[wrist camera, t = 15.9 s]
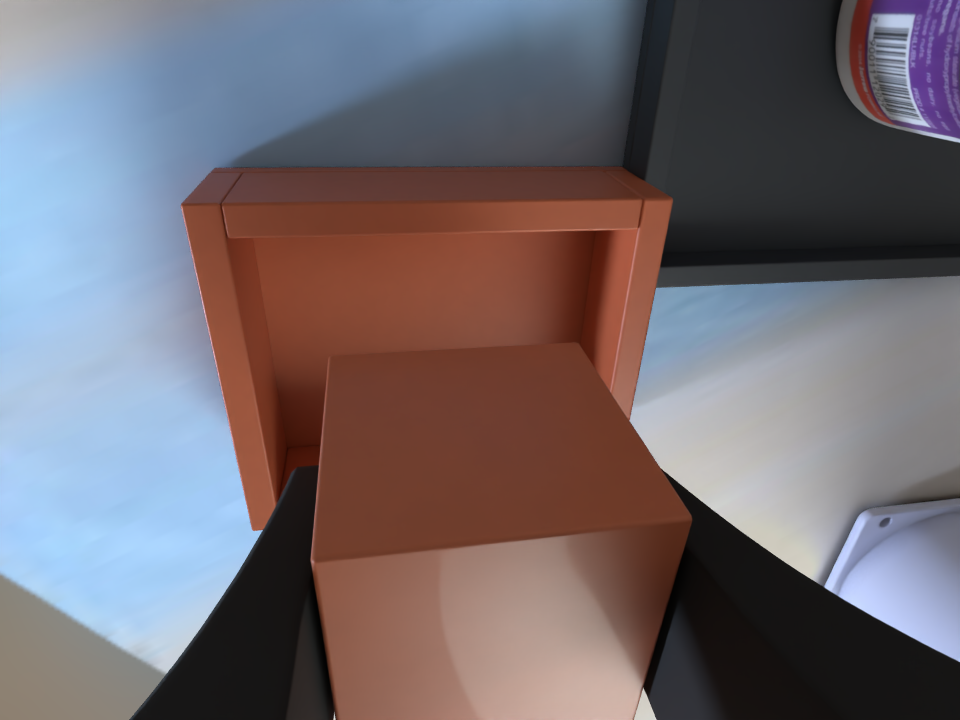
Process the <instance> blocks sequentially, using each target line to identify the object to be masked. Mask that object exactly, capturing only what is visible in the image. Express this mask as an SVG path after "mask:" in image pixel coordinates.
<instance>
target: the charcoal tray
mask: <svg viewBox="0 0 960 720" xmlns="http://www.w3.org/2000/svg"><path fill="white" fill-rule="evenodd" d="M842 1H843V0H648V4H647V10H646V17H645V23H644V30H643V37H642V43H641V50H640V57H639V63H638V70H637V76H636V83H635V90H634V96H633V103H632V109H631V116H630V123H629V129H628V136H627V143H626V149H625V156H624V162H623V168H625V169H626V170H628V172H630V173H632V174H634V175H635V176H637V177H639V178H640V179H642V180H644V181H645V182H647V183H649V184H650V185H652V186H654V187H655V188H657V189H659V190H660V191H662V192H664V193H665V194H667V195H669V196H670V197H672V199H673V203H672V208H671V213H670V218H669V224H668V229H667V234H666V239H665V244H664V249H663V254H662V259H661V264H660V269H659V274H658V279H657V284H656V288H661V287H687V286H712V285H738V284H763V283H789V282H814V281H840V280H865V279H890V278H916V277H941V276H960V143H959V142H954V141H950V140H945V139H940V138H936V137H931V136H926V135H922V134H917V133H913V132H909V131H905V130H901V129H897V128H893V127H889V126H886V125H883V124H881V123H878V122H875V121H874V120H872V119H870V118H868V117H867V116H866V115H864V114H863V113H862V112H861V111H860V110H859V109H858V108H857V107H855V105H854V104H853V103H852V102H851V100H850V99H849V98H848V96H847V94H846V92H845V91H844V89H843V86H842V84H841V81H840V77H839V74H838V70H837V63H836V30H837V24H838V18H839V13H840V8H841V4H842Z"/></svg>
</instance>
